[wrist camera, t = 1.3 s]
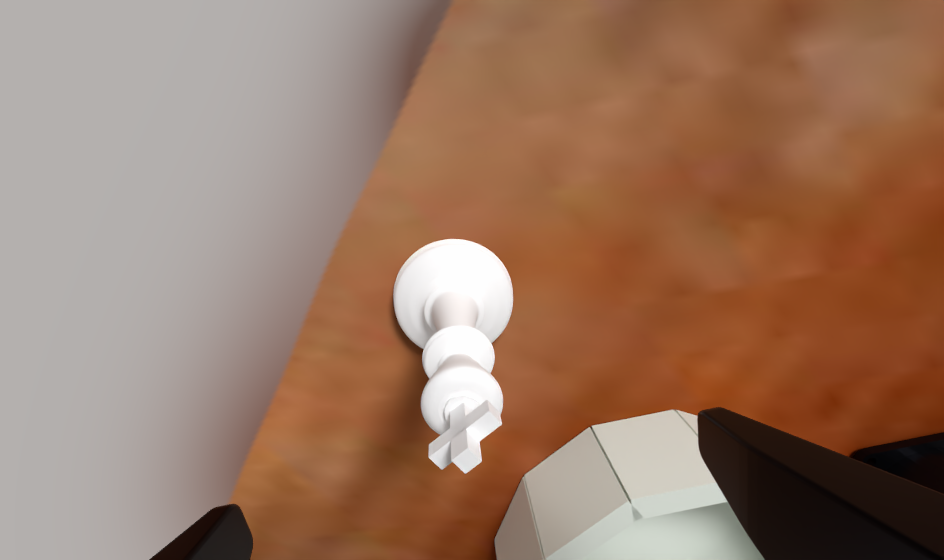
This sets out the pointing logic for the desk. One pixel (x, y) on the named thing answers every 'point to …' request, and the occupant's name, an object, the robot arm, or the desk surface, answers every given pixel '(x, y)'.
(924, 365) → the desk surface
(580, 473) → the bowl
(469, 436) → the chess piece
